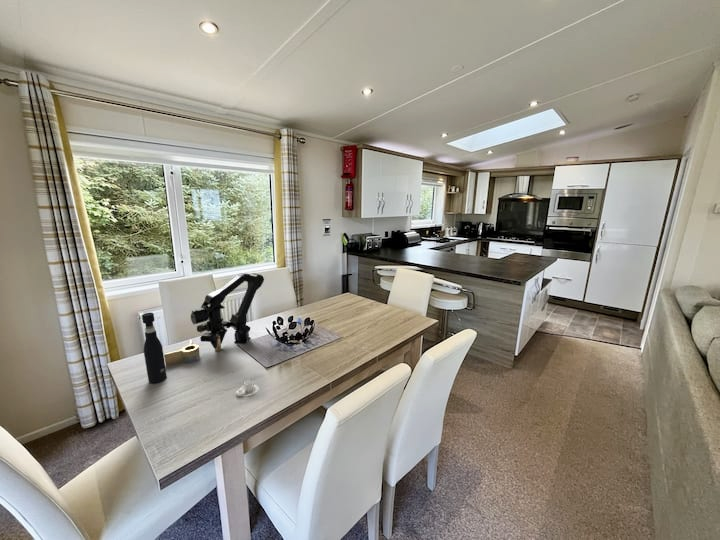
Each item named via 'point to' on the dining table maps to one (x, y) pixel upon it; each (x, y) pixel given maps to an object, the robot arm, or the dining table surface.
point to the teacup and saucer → (247, 388)
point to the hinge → (183, 355)
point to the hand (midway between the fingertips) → (217, 346)
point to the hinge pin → (218, 344)
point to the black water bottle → (153, 352)
